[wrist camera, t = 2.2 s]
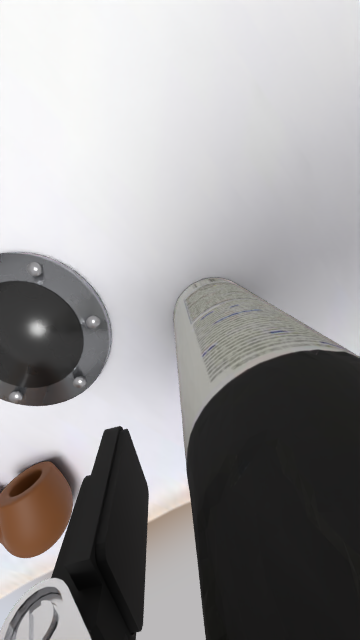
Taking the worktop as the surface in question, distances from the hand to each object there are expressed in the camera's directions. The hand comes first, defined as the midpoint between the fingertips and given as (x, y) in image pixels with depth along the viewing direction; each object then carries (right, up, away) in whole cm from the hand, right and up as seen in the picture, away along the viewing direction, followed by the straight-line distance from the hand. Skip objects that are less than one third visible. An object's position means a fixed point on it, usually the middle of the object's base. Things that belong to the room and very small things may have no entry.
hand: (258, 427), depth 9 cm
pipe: (-22, -14, +18) cm, 32 cm away
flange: (-15, +3, +12) cm, 20 cm away
